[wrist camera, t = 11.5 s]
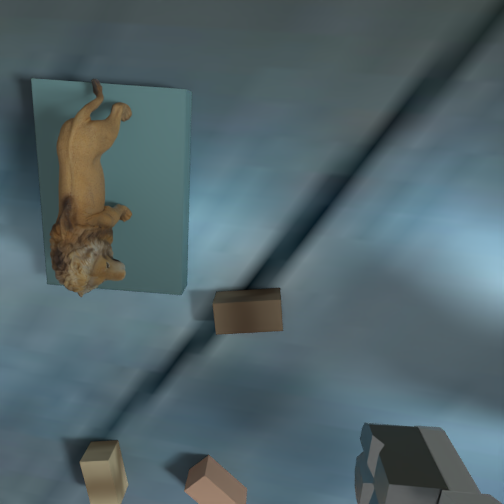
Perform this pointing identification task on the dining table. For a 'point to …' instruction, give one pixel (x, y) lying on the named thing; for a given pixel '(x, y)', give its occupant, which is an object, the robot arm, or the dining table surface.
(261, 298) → the walnut brick
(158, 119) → the teal slab
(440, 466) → the robot arm
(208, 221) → the dining table surface
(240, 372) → the dining table surface
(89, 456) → the oak brick
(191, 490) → the terracotta brick
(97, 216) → the lion figurine
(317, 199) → the dining table surface
